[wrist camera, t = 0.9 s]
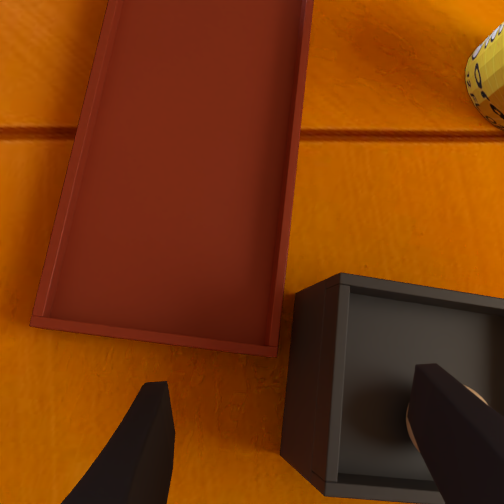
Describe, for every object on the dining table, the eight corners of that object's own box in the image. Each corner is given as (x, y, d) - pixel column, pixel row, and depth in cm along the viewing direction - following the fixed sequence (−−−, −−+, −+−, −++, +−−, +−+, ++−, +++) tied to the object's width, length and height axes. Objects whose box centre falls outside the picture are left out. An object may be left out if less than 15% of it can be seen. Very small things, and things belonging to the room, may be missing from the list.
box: (457, 471, 29) (563, 515, 21) (279, 455, 27) (324, 496, 19) (458, 317, 31) (552, 306, 24) (295, 292, 29) (340, 272, 22)
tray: (269, 357, 28) (277, 357, 26) (39, 328, 26) (28, 326, 24) (322, -140, 39) (330, -165, 37) (162, -190, 36) (161, -220, 35)
